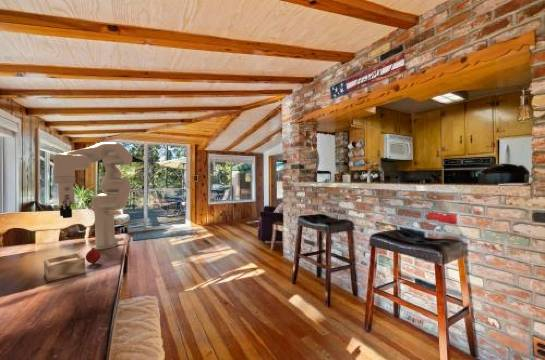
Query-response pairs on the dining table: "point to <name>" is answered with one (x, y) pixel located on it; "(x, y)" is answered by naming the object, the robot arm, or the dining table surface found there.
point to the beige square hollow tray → (64, 266)
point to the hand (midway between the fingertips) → (66, 216)
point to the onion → (93, 256)
